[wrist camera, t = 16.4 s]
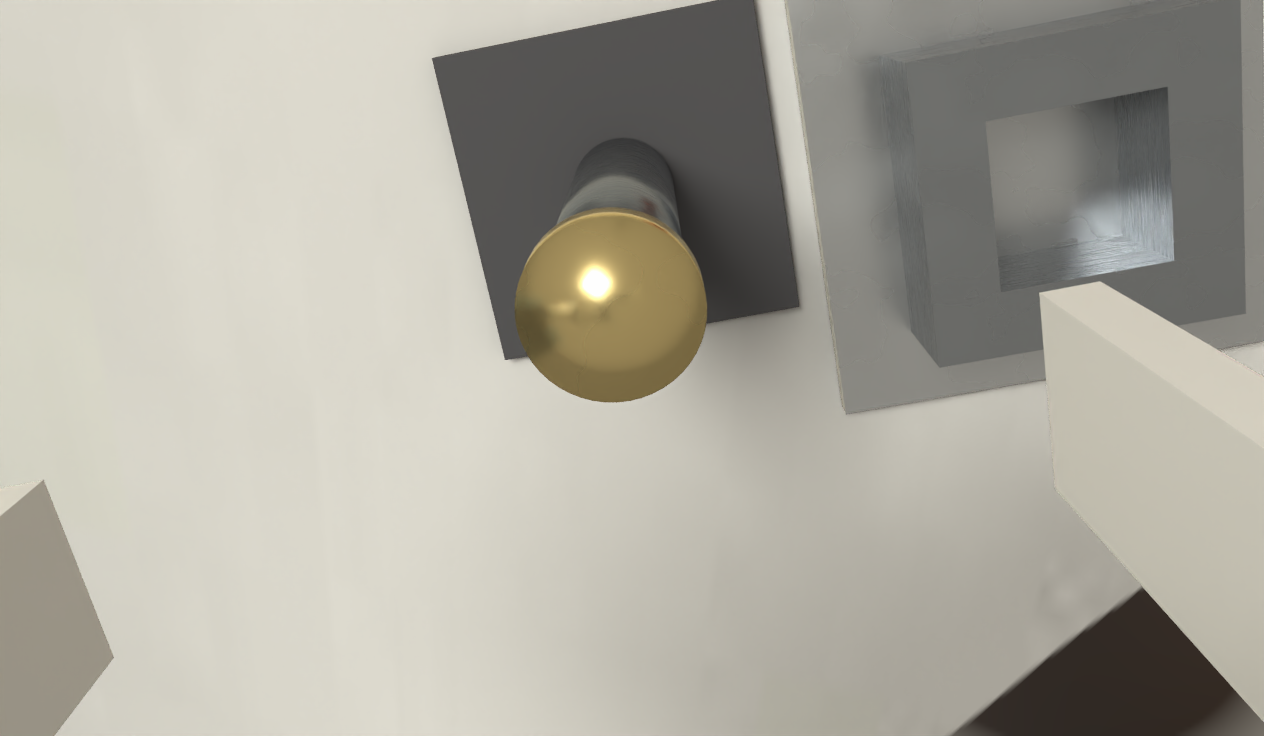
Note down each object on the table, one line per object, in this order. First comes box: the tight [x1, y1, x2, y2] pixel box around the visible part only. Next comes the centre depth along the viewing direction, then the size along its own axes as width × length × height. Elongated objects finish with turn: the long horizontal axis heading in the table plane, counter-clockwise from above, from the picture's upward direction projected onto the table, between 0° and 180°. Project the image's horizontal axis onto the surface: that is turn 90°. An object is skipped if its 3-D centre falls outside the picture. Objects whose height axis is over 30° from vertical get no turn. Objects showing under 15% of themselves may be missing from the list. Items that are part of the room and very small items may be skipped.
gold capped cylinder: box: [515, 138, 707, 402], centre depth 29 cm, size 4×4×14 cm
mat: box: [432, 0, 799, 360], centre depth 36 cm, size 10×10×1 cm
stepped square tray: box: [784, 0, 1264, 414], centre depth 34 cm, size 14×14×4 cm
